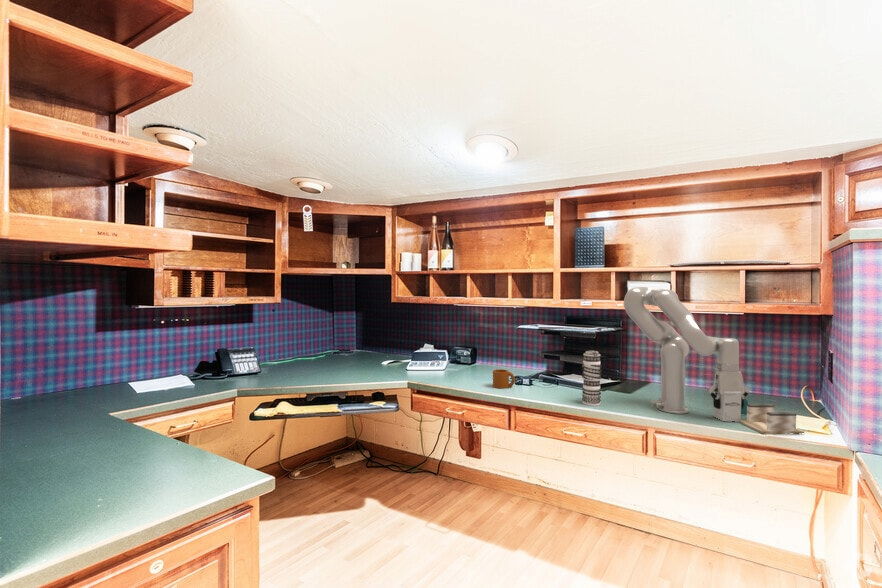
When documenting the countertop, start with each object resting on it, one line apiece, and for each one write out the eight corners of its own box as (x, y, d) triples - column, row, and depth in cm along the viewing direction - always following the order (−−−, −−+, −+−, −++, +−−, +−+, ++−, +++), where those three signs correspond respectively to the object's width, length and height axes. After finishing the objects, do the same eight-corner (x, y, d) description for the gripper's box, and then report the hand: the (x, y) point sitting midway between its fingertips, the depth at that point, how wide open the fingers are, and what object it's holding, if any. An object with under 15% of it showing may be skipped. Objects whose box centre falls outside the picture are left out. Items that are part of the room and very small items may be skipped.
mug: (511, 390, 231) (511, 373, 230) (490, 388, 236) (490, 371, 236) (516, 386, 239) (516, 370, 238) (495, 384, 244) (495, 368, 244)
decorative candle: (603, 402, 208) (604, 350, 207) (599, 406, 200) (599, 353, 199) (584, 399, 212) (584, 349, 212) (579, 403, 205) (579, 351, 204)
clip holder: (762, 433, 164) (762, 413, 164) (738, 422, 177) (739, 404, 177) (804, 434, 164) (804, 413, 164) (777, 422, 177) (778, 404, 177)
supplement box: (723, 422, 178) (723, 391, 178) (712, 416, 186) (713, 387, 185) (741, 422, 178) (742, 392, 177) (730, 416, 185) (730, 387, 185)
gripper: (713, 369, 177) (713, 410, 178) (755, 369, 177) (755, 410, 177) (702, 366, 185) (702, 405, 185) (742, 365, 185) (742, 405, 185)
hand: (728, 407), depth 181 cm, fingers open, 9 cm apart
